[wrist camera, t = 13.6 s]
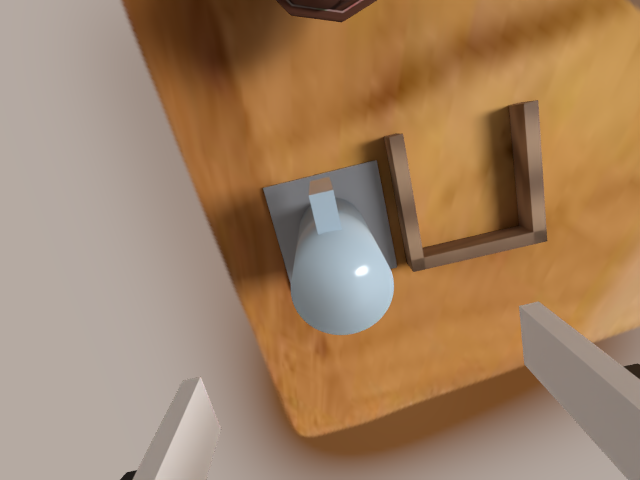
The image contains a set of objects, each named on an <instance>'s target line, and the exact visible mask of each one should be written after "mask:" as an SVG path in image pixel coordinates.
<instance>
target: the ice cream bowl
mask: <svg viewBox="0 0 640 480" xmlns="http://www.w3.org/2000/svg"><path fill="white" fill-rule="evenodd" d="M276 1H277V2H278V3H279V4H280V5H281V6H282V7H283V8H284V9H285V10H286V11H287V12H288V13H289V14H290V15H292V16H299V17H306V18H314V19H321V20H329V21H336V22H343V21H345V20H346V19H348V18H350V17H351V16H353V15H354V14H356V13H358V12H359V11H361V10H362V9H364V8H365V7H367V6H369V5H370V4H372V3H373V2H375V1H377V0H276Z"/></svg>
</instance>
